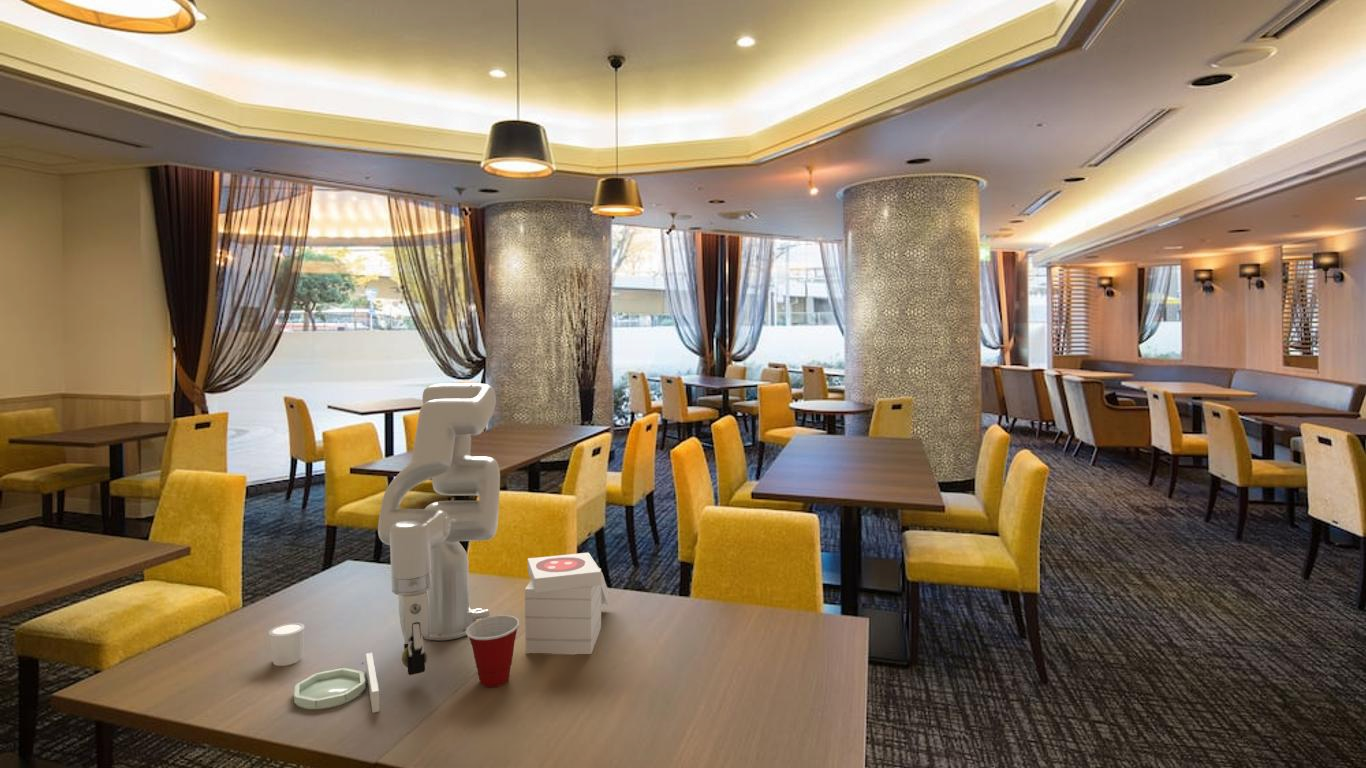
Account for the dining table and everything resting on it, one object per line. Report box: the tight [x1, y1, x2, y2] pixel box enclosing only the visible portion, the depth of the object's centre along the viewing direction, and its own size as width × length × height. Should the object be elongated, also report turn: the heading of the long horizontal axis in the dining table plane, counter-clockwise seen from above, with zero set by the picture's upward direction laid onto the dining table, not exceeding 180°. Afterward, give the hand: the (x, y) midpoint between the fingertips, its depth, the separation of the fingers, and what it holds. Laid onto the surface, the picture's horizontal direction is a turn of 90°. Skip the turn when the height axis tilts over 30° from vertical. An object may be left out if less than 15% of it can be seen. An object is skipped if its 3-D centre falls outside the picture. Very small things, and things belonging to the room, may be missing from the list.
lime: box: [401, 645, 428, 669], centre depth 143 cm, size 4×5×5 cm
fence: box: [365, 652, 380, 714], centre depth 140 cm, size 1×18×4 cm, turn 28°
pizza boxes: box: [524, 552, 610, 655], centre depth 169 cm, size 19×30×18 cm, turn 178°
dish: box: [293, 667, 367, 710], centre depth 140 cm, size 13×13×2 cm
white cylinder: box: [268, 622, 305, 667], centre depth 153 cm, size 7×7×7 cm
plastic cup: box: [465, 614, 520, 688], centre depth 144 cm, size 11×11×12 cm
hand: (414, 666), depth 143 cm, fingers closed on lime, 4 cm apart
